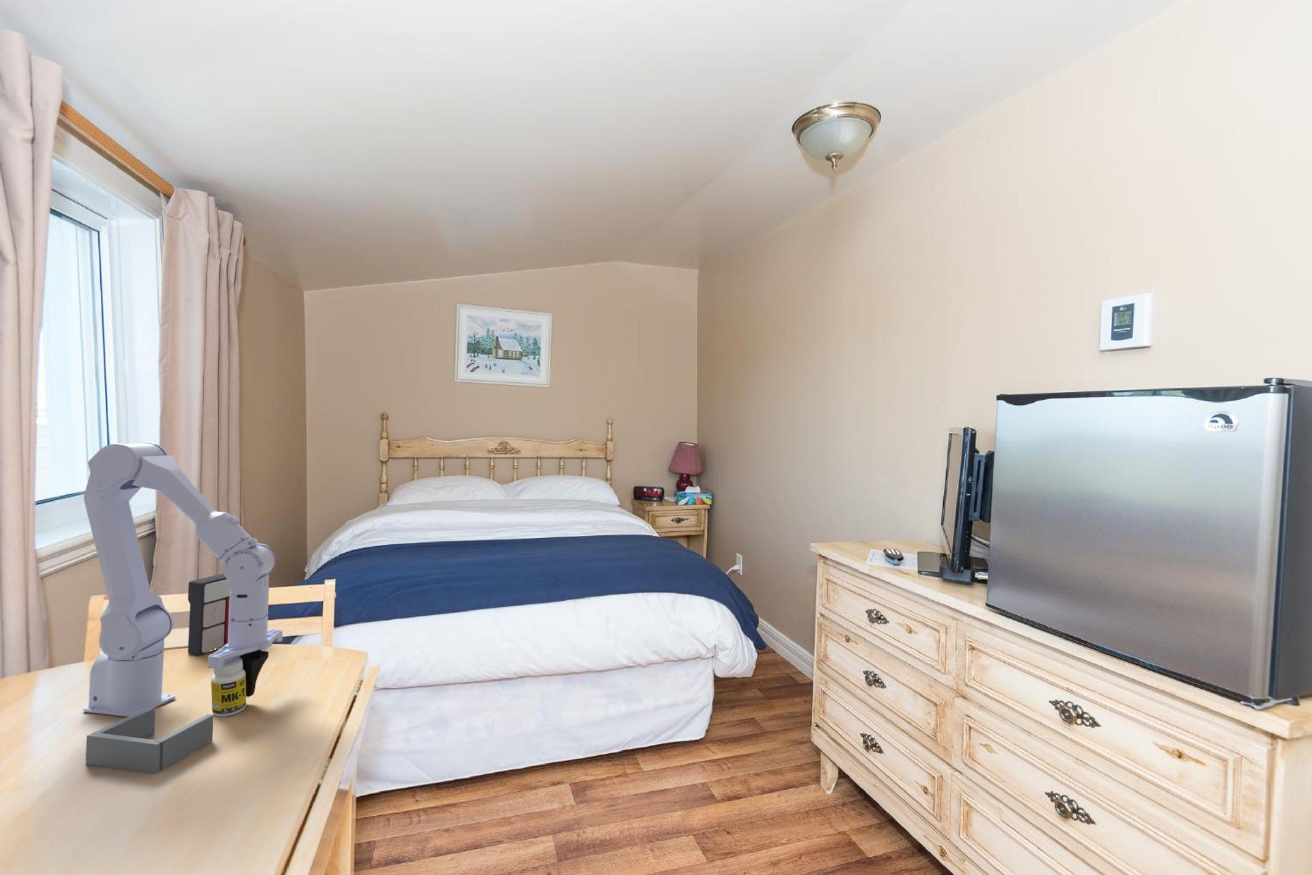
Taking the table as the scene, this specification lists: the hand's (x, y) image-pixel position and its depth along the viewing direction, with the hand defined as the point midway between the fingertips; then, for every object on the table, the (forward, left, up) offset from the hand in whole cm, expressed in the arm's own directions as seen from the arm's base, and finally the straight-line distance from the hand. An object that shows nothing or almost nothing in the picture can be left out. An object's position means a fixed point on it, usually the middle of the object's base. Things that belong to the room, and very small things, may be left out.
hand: (245, 695), depth 110 cm
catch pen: (0, -17, -1) cm, 17 cm away
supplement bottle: (0, -3, -1) cm, 3 cm away
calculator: (-26, +23, -2) cm, 35 cm away
